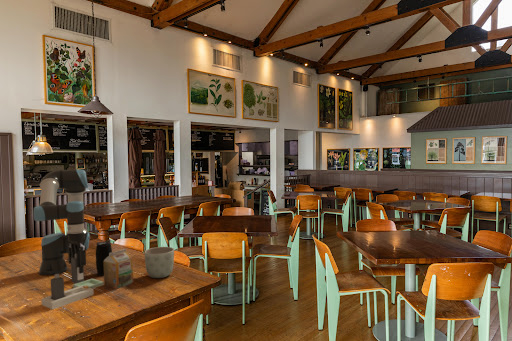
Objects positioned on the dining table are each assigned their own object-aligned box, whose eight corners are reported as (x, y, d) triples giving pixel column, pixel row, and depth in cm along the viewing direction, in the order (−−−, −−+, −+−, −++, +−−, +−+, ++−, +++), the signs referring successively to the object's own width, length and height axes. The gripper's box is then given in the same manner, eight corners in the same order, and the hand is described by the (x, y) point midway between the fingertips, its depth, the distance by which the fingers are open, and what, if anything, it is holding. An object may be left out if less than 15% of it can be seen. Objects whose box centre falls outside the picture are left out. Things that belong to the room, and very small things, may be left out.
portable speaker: (110, 276, 205) (109, 243, 204) (93, 277, 204) (92, 244, 203) (115, 271, 213) (113, 240, 212) (99, 272, 212) (98, 240, 212)
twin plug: (51, 303, 165) (50, 274, 164) (60, 301, 168) (59, 272, 168) (55, 305, 162) (54, 276, 162) (64, 302, 166) (63, 273, 165)
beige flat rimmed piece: (41, 305, 164) (41, 297, 164) (82, 292, 180) (82, 283, 180) (52, 310, 158) (52, 301, 158) (93, 295, 175) (93, 287, 175)
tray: (73, 288, 186) (73, 284, 186) (92, 281, 196) (92, 278, 195) (84, 292, 180) (84, 288, 180) (103, 285, 189) (103, 281, 189)
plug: (71, 282, 172) (70, 254, 172) (79, 279, 176) (78, 252, 176) (76, 283, 170) (75, 255, 170) (84, 281, 174) (83, 253, 173)
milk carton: (116, 290, 182) (115, 254, 182) (104, 286, 188) (103, 252, 187) (133, 283, 191) (132, 249, 191) (121, 280, 197) (119, 247, 196)
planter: (180, 273, 207) (180, 248, 207) (161, 282, 192) (161, 255, 192) (158, 270, 215) (157, 245, 214) (138, 278, 199) (137, 252, 199)
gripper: (59, 232, 174) (61, 278, 175) (78, 235, 165) (80, 283, 165) (74, 229, 180) (75, 273, 181) (93, 232, 171) (94, 279, 171)
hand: (77, 278), depth 173 cm, fingers closed on plug, 4 cm apart
